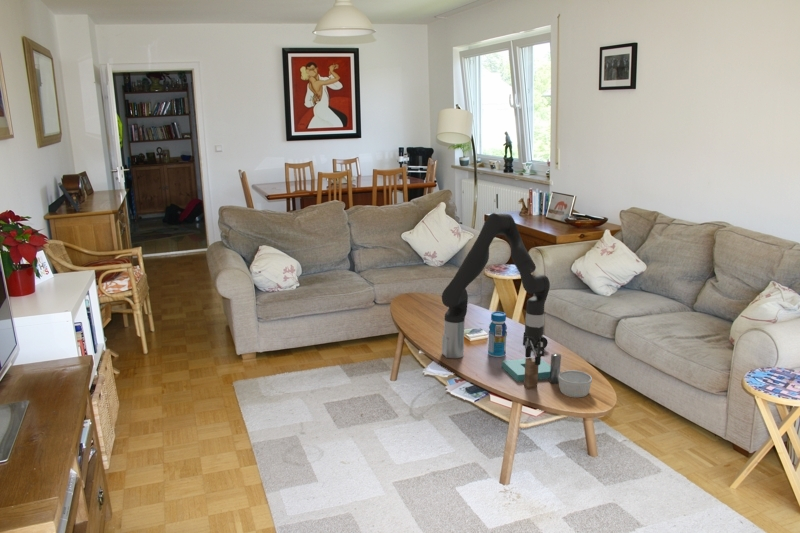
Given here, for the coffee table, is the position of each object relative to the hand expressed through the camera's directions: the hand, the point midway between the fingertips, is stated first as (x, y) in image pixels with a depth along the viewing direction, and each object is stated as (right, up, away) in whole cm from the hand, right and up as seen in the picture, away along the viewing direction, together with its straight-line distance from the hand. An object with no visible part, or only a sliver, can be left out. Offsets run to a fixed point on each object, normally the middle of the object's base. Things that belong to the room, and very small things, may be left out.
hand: (532, 360), depth 274 cm
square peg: (0, -11, +3) cm, 12 cm away
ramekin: (+17, -13, -2) cm, 21 cm away
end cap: (+11, 0, +47) cm, 48 cm away
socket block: (+2, -7, +17) cm, 19 cm away
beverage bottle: (-9, -2, +38) cm, 39 cm away
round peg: (+11, -10, +8) cm, 17 cm away
